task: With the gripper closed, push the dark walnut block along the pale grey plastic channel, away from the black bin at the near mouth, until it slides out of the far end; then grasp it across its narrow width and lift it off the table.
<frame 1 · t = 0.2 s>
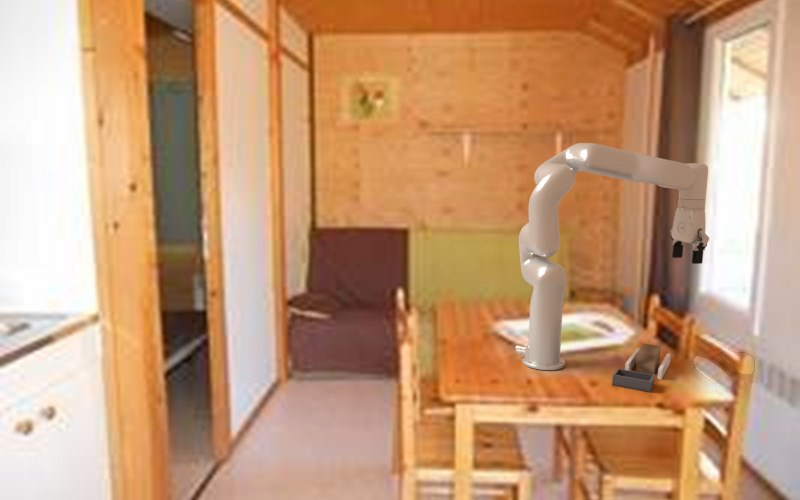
hand: (686, 260, 201), 31 cm above the table, tool pointing down, fingers open, 9 cm apart
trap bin: (633, 385, 182), on the table
channel: (647, 368, 196), on the table
walnut block: (647, 368, 196), on the table
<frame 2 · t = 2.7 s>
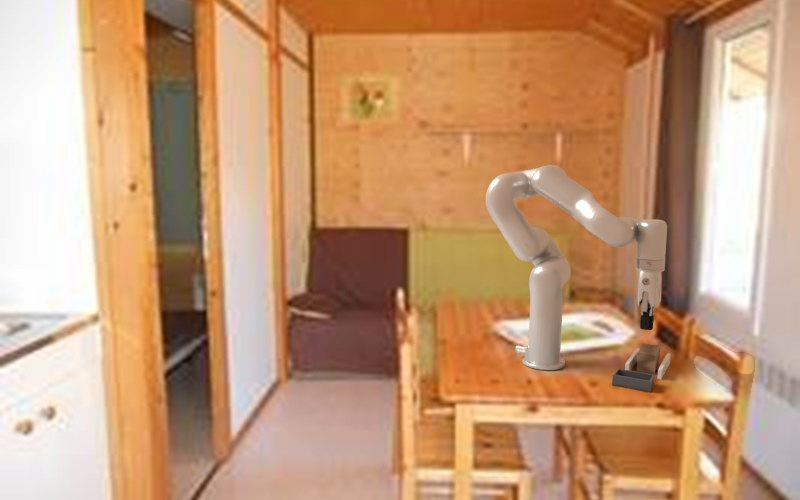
hand: (646, 328, 184), 15 cm above the table, tool pointing down, fingers closed
nothing on the table moved.
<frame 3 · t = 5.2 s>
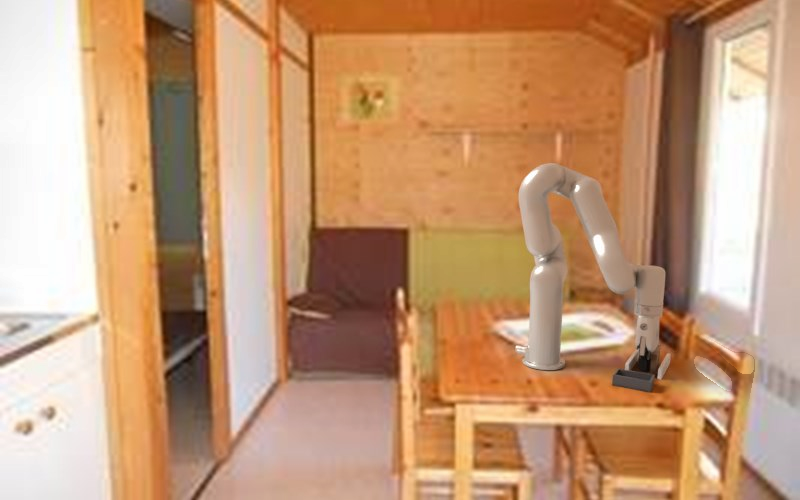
hand: (643, 371, 189), 1 cm above the table, tool pointing down, fingers closed
walnut block: (648, 367, 196), on the table, touching gripper
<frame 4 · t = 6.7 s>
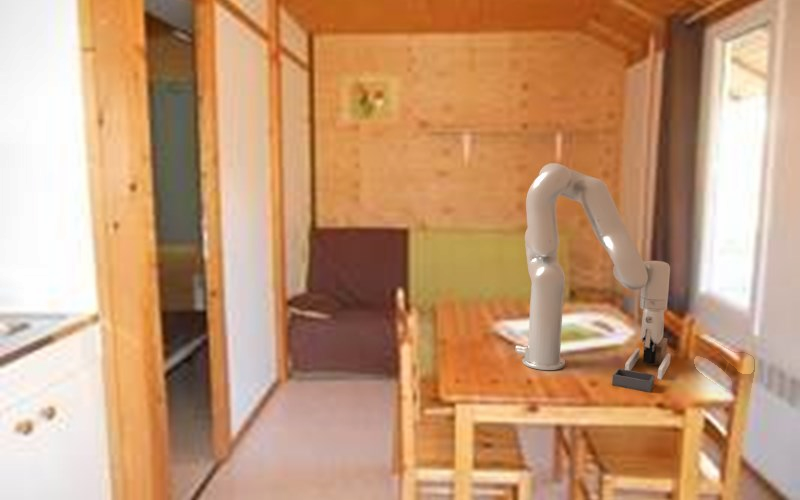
hand: (648, 362, 196), 1 cm above the table, tool pointing down, fingers closed
walnut block: (654, 359, 203), on the table, touching gripper
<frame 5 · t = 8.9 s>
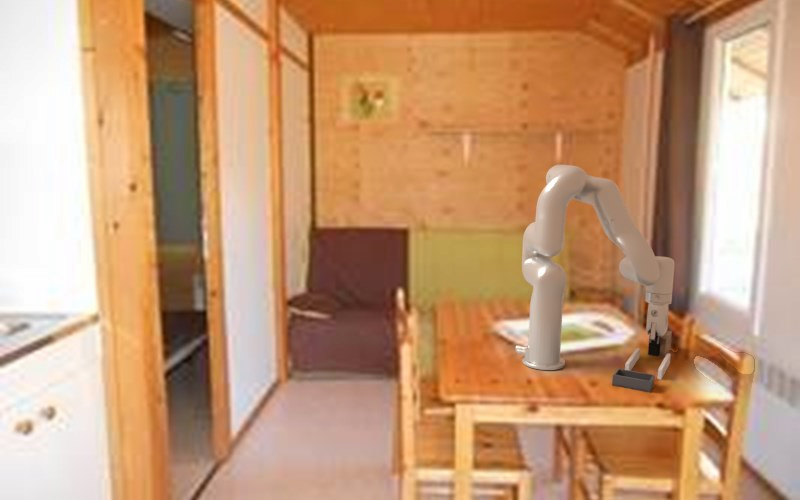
hand: (653, 354, 204), 1 cm above the table, tool pointing down, fingers closed
walnut block: (659, 351, 210), on the table, touching gripper
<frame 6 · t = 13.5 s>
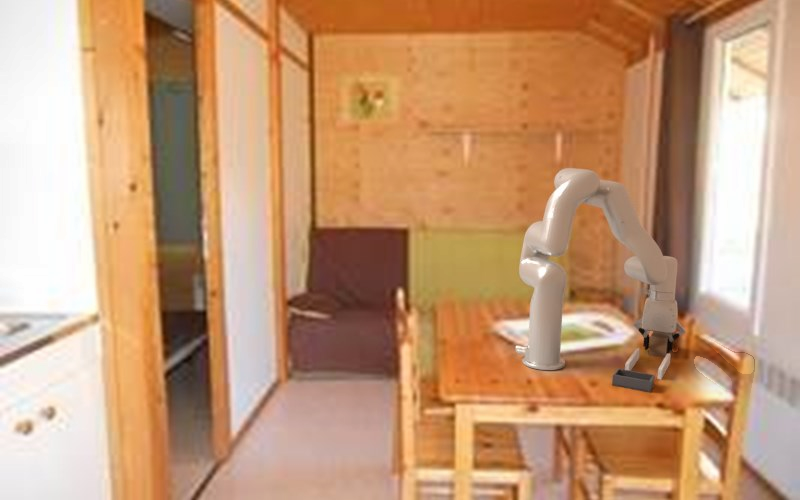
hand: (657, 350, 209), 1 cm above the table, tool pointing down, fingers open, 5 cm apart
nothing on the table moved.
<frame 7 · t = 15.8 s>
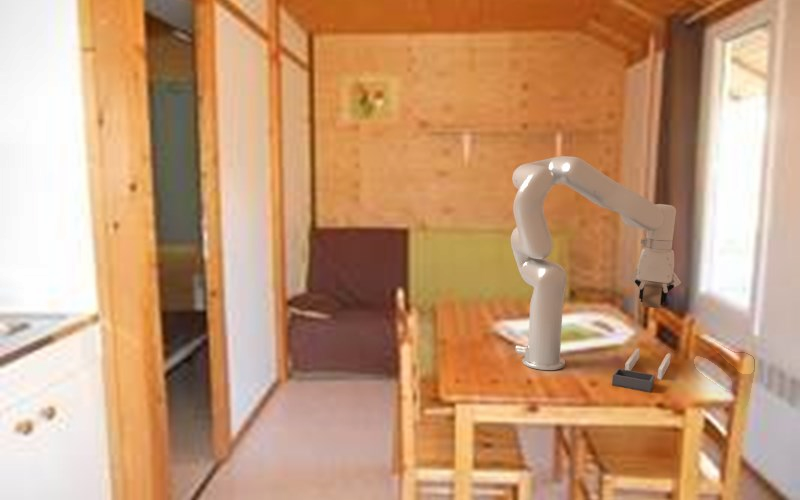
hand: (652, 302, 203), 17 cm above the table, tool pointing down, fingers closed on walnut block, 5 cm apart
walnut block: (652, 304, 205), point 16 cm above the table, touching gripper
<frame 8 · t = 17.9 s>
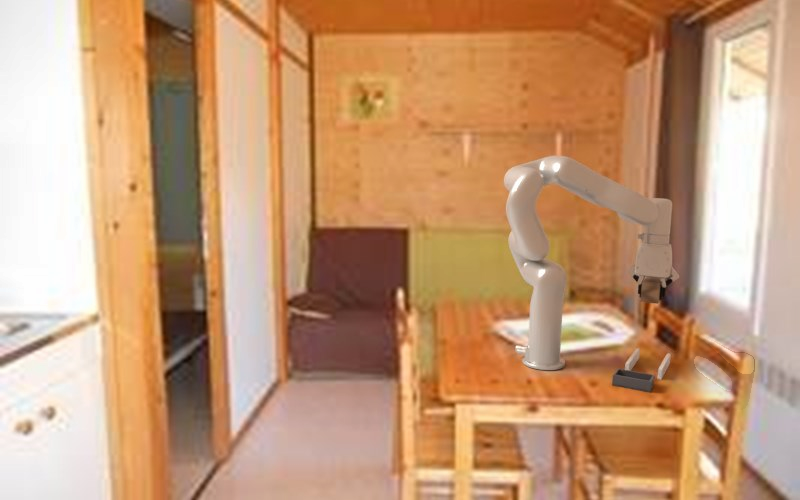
hand: (651, 297, 202), 19 cm above the table, tool pointing down, fingers closed on walnut block, 5 cm apart
walnut block: (651, 299, 203), point 18 cm above the table, touching gripper
at the end: the gripper is holding walnut block; walnut block point 18.4 cm above the table; walnut block inside the target area (5.1 cm from its centre), point 18.4 cm above the table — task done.
